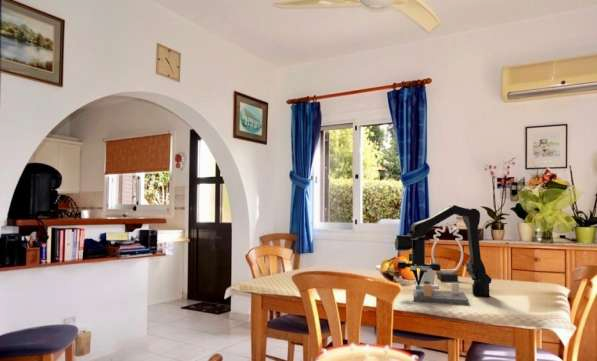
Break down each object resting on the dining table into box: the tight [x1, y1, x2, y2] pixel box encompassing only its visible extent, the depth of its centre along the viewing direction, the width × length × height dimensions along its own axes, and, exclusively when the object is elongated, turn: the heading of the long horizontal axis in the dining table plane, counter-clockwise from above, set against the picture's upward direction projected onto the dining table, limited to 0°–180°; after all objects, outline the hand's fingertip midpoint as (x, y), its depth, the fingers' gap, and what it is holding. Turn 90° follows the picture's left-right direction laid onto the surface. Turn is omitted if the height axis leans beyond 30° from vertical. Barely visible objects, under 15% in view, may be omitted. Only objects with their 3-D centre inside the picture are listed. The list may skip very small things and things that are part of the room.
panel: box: [412, 281, 469, 306], centre depth 190 cm, size 22×16×6 cm
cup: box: [418, 268, 437, 290], centre depth 210 cm, size 9×9×12 cm
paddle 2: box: [450, 281, 460, 294], centre depth 193 cm, size 3×3×5 cm
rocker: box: [415, 284, 440, 290], centre depth 196 cm, size 10×4×1 cm, turn 75°
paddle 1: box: [424, 284, 432, 297], centre depth 188 cm, size 3×3×5 cm
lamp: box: [430, 221, 464, 283], centre depth 236 cm, size 17×9×32 cm, turn 85°
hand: (418, 284), depth 196 cm, fingers closed
